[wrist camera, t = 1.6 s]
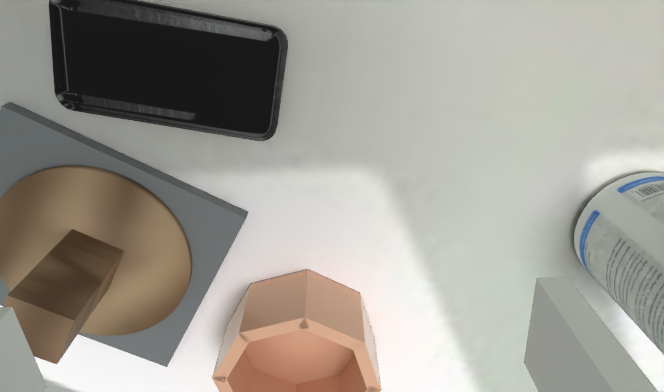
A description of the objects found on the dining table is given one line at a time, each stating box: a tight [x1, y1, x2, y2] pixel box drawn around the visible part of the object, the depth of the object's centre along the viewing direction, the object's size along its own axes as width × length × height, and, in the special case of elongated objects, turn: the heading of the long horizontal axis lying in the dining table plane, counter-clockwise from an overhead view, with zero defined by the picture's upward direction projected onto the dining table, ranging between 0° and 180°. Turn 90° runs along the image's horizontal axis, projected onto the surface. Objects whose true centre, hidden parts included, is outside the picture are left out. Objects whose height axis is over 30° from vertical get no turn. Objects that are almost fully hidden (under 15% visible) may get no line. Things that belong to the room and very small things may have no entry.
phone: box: [49, 0, 288, 141], centre depth 32 cm, size 8×1×15 cm
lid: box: [0, 165, 192, 364], centre depth 33 cm, size 15×15×9 cm
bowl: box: [212, 269, 381, 392], centre depth 39 cm, size 12×12×6 cm
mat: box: [0, 102, 248, 367], centre depth 38 cm, size 18×17×1 cm
